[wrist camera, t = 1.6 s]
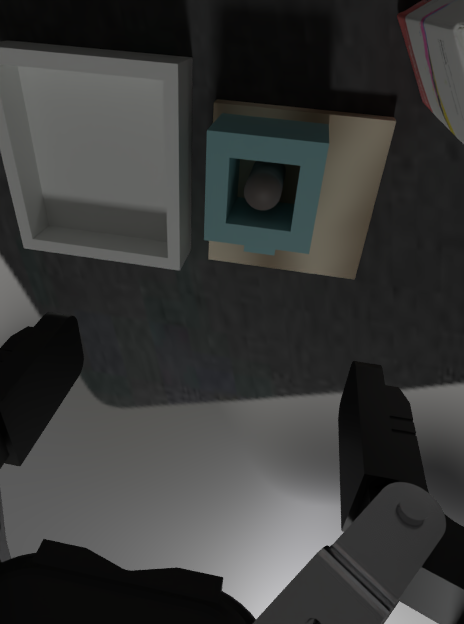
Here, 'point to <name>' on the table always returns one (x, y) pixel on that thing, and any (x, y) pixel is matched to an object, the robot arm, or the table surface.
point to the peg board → (333, 196)
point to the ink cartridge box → (438, 57)
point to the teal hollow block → (269, 148)
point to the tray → (98, 151)
